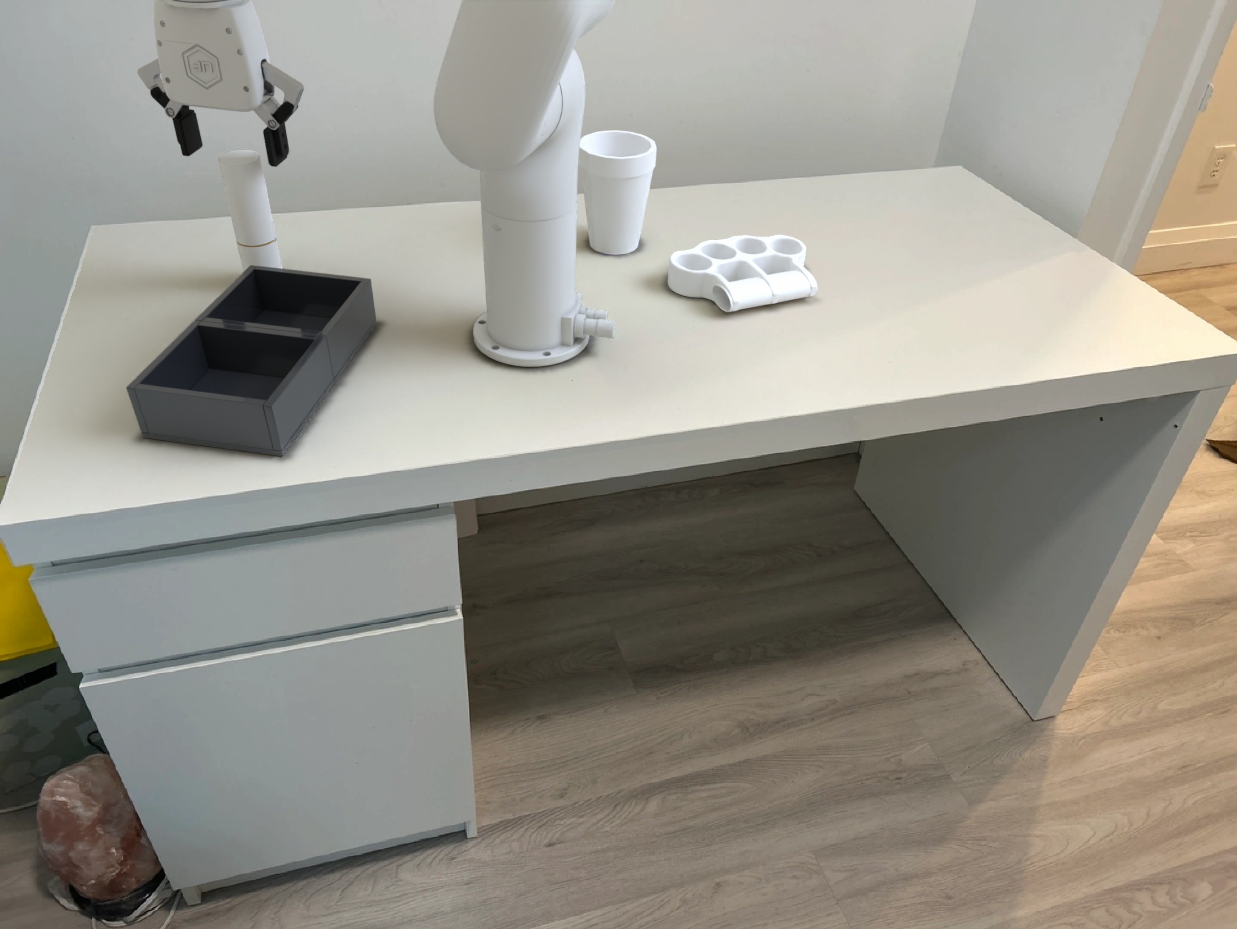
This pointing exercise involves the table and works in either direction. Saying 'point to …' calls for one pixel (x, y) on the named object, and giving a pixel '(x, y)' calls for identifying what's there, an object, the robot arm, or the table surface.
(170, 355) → the left basin
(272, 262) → the tube
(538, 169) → the robot arm
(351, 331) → the right basin
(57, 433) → the table surface
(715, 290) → the knuckle duster
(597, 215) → the foam cup
